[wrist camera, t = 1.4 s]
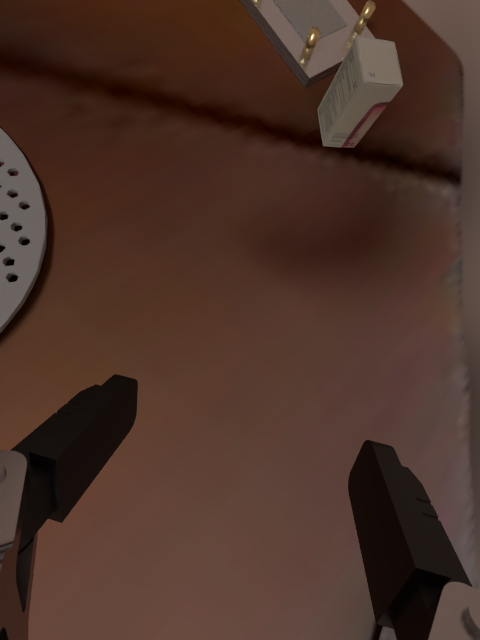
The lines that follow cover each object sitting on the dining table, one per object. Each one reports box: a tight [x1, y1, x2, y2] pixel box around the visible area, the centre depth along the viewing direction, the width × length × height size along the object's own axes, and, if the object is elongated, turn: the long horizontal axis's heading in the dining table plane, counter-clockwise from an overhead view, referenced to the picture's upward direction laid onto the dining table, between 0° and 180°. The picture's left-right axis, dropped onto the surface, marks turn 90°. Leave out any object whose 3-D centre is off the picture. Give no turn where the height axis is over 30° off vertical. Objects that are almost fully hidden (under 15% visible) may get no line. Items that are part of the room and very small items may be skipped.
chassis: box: [240, 0, 376, 88], centre depth 33 cm, size 14×12×4 cm
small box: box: [317, 35, 403, 148], centre depth 30 cm, size 5×4×8 cm
